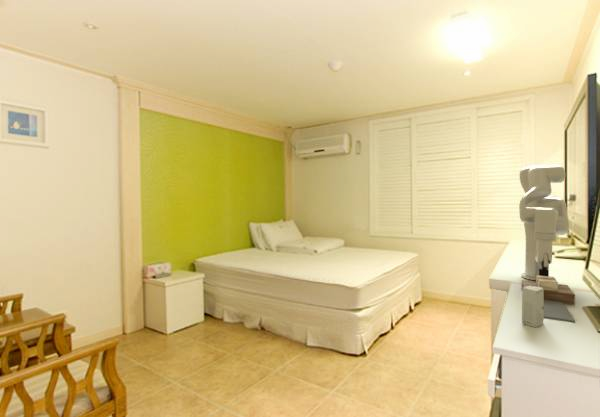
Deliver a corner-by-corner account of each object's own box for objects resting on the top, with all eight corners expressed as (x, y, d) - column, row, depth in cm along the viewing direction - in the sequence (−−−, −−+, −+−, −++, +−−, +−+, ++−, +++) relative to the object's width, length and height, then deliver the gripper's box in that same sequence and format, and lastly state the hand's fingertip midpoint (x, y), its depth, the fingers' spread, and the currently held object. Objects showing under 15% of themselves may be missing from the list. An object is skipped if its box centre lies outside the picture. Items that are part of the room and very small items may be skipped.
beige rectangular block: (536, 283, 140) (536, 275, 139) (553, 285, 137) (553, 276, 136) (539, 289, 132) (539, 280, 132) (557, 291, 129) (557, 282, 129)
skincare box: (536, 328, 105) (537, 291, 104) (520, 323, 109) (521, 287, 108) (544, 323, 108) (545, 287, 108) (528, 319, 112) (529, 284, 111)
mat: (525, 298, 132) (526, 297, 132) (563, 303, 126) (563, 302, 126) (531, 315, 115) (531, 314, 115) (575, 322, 109) (575, 320, 109)
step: (521, 289, 145) (521, 280, 145) (567, 294, 137) (567, 285, 137) (524, 298, 133) (524, 288, 133) (574, 304, 125) (575, 294, 125)
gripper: (532, 234, 149) (531, 273, 150) (536, 238, 136) (535, 281, 137) (552, 235, 145) (551, 275, 146) (558, 239, 132) (557, 283, 133)
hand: (543, 278), depth 141 cm, fingers closed
